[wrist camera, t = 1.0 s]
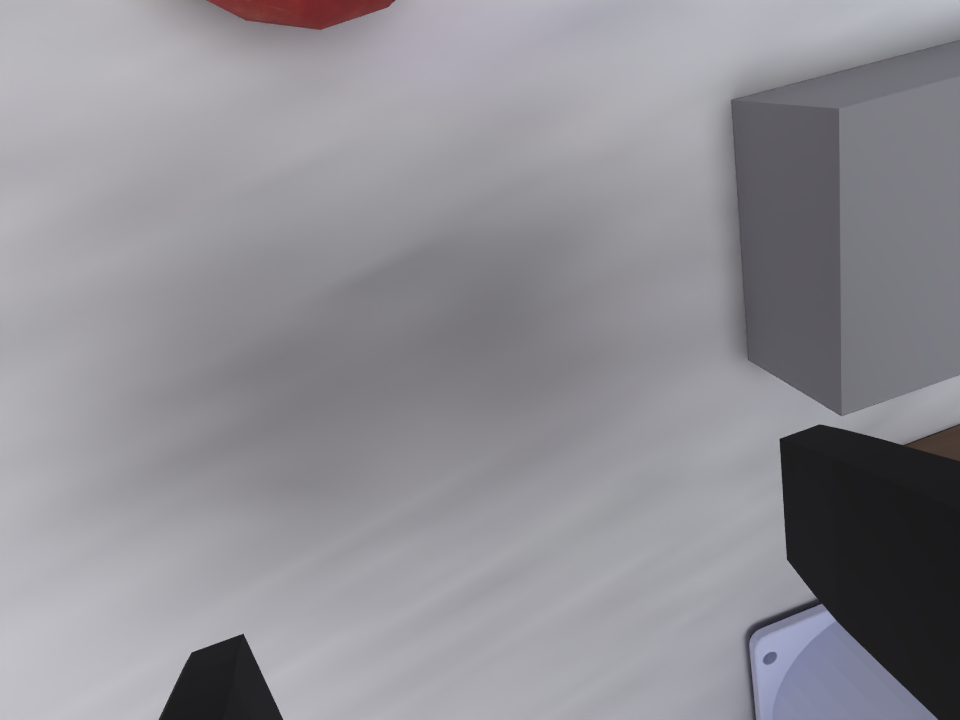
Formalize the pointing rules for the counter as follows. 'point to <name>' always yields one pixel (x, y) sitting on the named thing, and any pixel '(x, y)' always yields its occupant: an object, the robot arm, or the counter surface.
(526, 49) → the counter surface
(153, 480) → the counter surface
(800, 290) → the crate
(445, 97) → the counter surface
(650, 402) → the counter surface
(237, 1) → the red rounded lump
